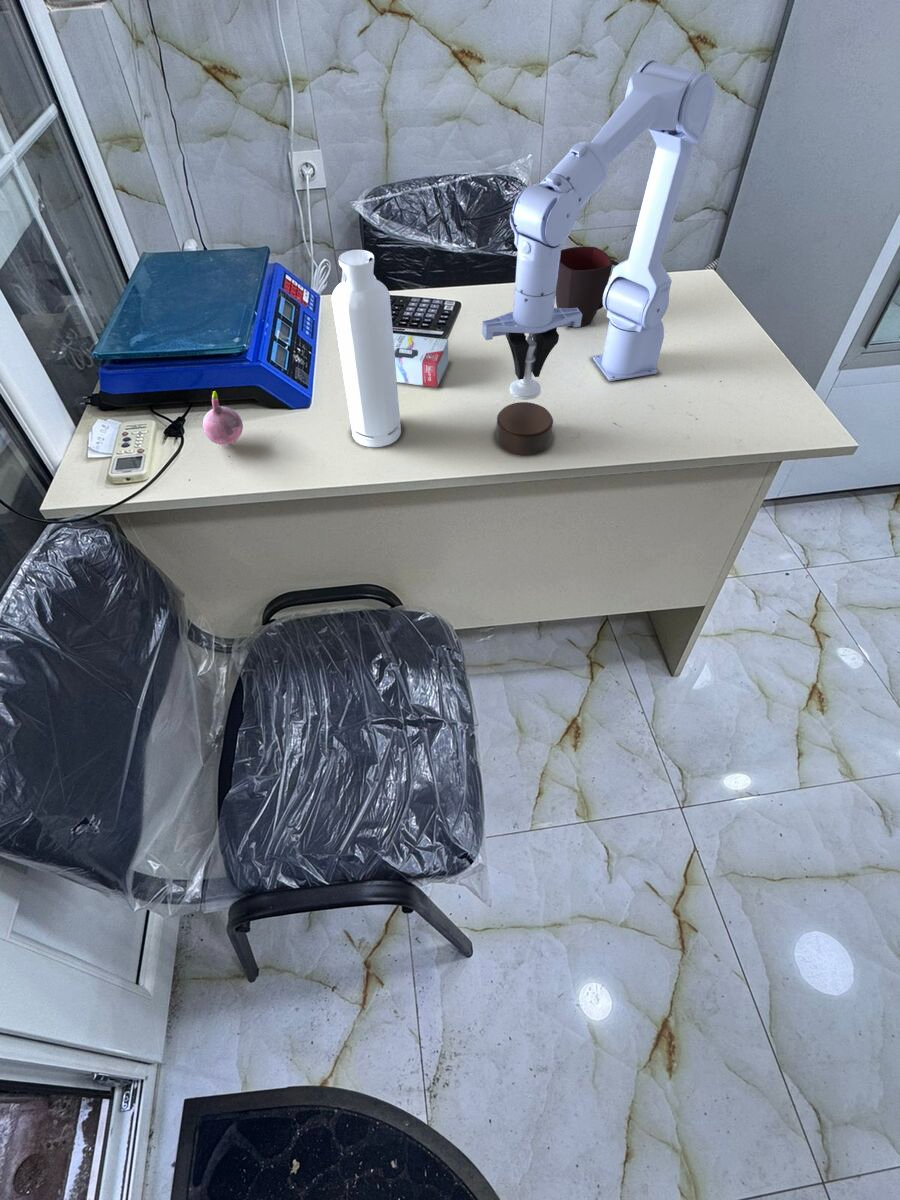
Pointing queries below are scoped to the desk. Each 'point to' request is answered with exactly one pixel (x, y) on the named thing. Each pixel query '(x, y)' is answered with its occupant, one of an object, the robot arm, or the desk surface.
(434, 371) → the ink box
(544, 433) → the stand
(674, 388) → the desk surface
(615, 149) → the robot arm
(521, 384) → the chess piece
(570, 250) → the cup
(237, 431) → the vegetable
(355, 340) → the bottle
